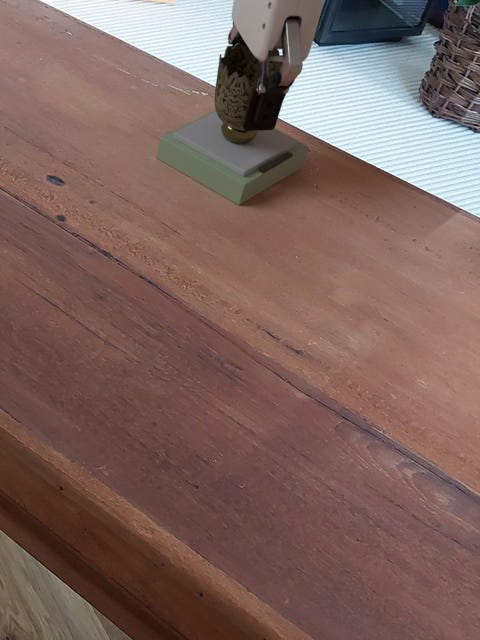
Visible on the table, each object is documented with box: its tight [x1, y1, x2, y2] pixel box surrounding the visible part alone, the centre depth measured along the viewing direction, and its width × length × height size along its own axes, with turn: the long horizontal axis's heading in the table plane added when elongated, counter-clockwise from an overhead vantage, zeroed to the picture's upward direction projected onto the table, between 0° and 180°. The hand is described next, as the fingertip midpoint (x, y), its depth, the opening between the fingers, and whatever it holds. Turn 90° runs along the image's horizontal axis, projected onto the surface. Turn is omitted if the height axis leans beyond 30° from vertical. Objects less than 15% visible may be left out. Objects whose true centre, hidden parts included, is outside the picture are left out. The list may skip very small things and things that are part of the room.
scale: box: [156, 109, 310, 206], centre depth 93 cm, size 11×11×3 cm
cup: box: [214, 42, 287, 143], centre depth 89 cm, size 8×7×8 cm
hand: (245, 105), depth 89 cm, fingers open, 7 cm apart
